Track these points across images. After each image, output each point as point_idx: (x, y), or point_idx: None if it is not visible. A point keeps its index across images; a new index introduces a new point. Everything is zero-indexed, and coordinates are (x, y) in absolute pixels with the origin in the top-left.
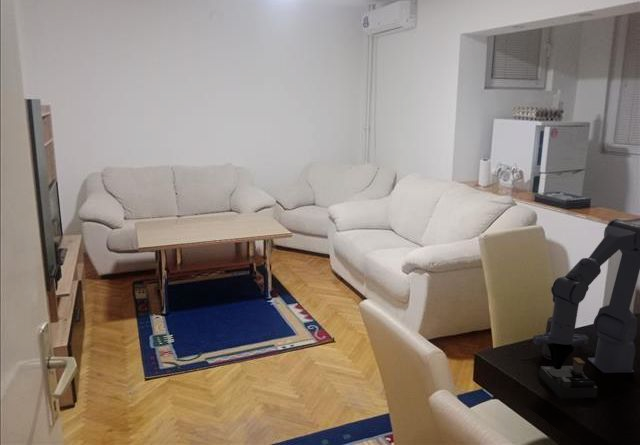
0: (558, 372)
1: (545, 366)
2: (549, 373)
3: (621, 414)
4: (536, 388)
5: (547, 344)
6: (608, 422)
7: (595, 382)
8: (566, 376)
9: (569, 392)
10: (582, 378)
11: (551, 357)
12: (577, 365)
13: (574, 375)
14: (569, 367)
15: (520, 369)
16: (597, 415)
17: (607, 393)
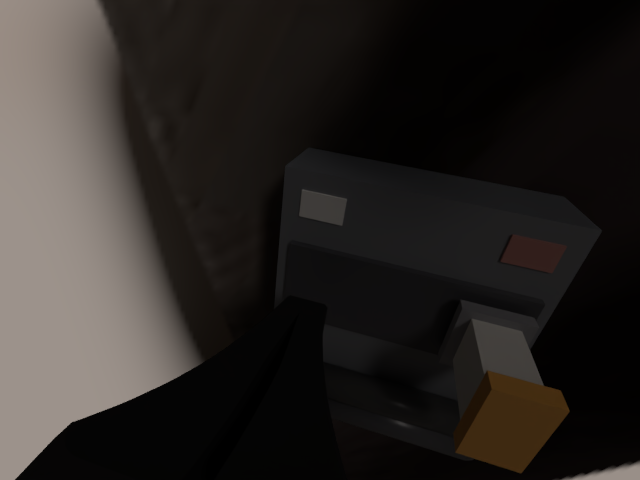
0: (352, 284)
1: (325, 176)
2: (287, 267)
3: (460, 472)
4: (225, 249)
5: (101, 418)
6: (366, 469)
7: (466, 460)
8: (370, 331)
9: None
10: (422, 415)
11: (249, 332)
12: (461, 409)
13: (437, 341)
14: (517, 246)
15: (227, 34)
16: (360, 441)
17: (570, 389)
